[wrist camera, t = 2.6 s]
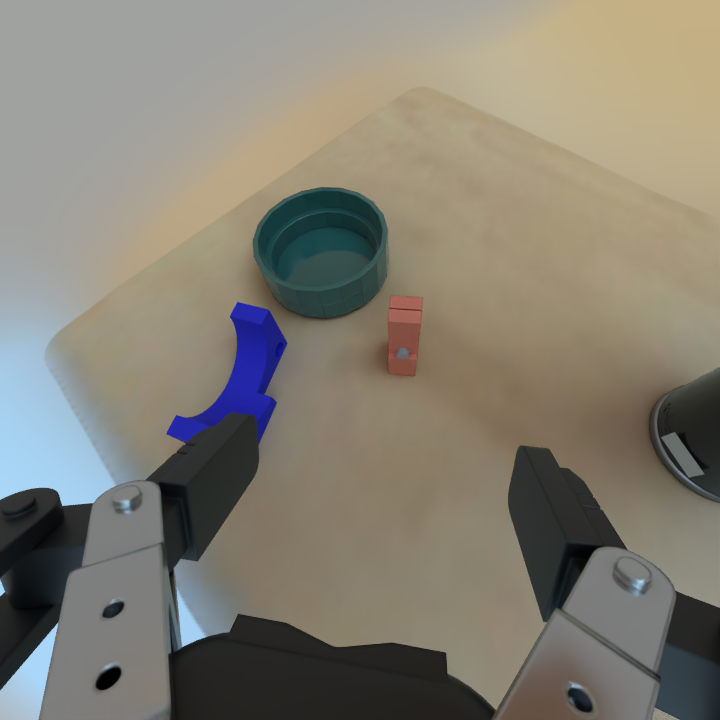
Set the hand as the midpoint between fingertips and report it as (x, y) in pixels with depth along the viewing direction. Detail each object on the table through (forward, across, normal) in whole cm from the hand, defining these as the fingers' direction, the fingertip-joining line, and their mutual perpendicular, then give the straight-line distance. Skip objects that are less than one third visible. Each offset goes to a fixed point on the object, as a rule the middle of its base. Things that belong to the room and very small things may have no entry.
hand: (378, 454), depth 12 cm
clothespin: (+24, 0, +5) cm, 24 cm away
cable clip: (+20, +13, +9) cm, 26 cm away
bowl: (+31, +9, -2) cm, 32 cm away
